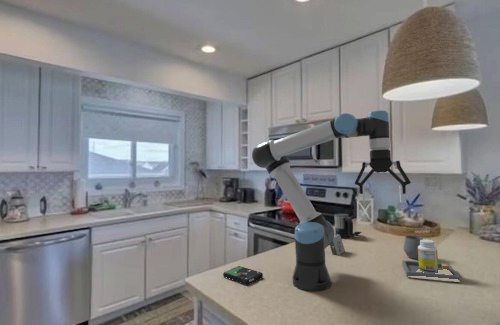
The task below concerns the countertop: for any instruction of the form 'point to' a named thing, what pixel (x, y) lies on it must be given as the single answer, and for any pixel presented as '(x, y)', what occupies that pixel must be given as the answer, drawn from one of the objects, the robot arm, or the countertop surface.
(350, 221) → the milk frother
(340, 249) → the electrical switch
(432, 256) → the supplement bottle
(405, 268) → the grey tray
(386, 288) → the countertop surface
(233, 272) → the disk drive
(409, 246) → the cup
